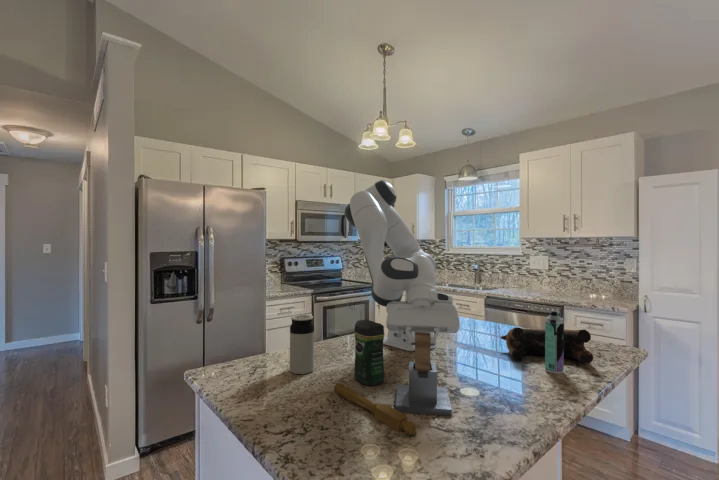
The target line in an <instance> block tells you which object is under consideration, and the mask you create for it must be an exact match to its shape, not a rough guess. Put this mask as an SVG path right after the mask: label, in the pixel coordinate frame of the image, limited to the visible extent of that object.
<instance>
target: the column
mask: <svg viewBox="0 0 719 480" xmlns="http://www.w3.org/2000/svg"><path fill="white" fill-rule="evenodd" d="M431 350H432V349H431V336H430V333H427V332H415V350H414V362H415V369H420V370H430V363H431V355H432V354H431Z"/></svg>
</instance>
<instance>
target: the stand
mask: <svg viewBox="0 0 719 480" xmlns="http://www.w3.org/2000/svg"><path fill="white" fill-rule="evenodd" d="M437 369H438V368H437V365H436V362H430V370H420V369H415V361H408V370H409V371H408V384H397V387H396V397H395V407H394V409H396V410H398V411H400V412H402V413H404V414H405V413H407V414H408V413H409V414H420V415H421V414H422V415H424V414H425V415H437V416H450V417H452V415H453V412H452V411H453V410H452V405H451V401H450V398H449V393H448V389H447V388H448V387H447V386H438V370H437Z"/></svg>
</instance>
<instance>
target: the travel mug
mask: <svg viewBox="0 0 719 480" xmlns="http://www.w3.org/2000/svg"><path fill="white" fill-rule="evenodd" d="M290 319H291V324H290V327H289V372H290V373H292V374H295V375H306V374H307V375H308V374H310V373H312V372H314V370H315V325H314V323H313V320H314V316H313V315H310V314H295V315H293V316H292V315H291V316H290Z"/></svg>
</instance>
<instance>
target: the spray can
mask: <svg viewBox="0 0 719 480" xmlns="http://www.w3.org/2000/svg"><path fill="white" fill-rule="evenodd" d="M544 321H545V323H544V325H545V326H544V327H545V328H544V330H545V355H544V369H545V372H548V373H550V374H556V375H561V374H564V371H565V370H564V368H565V366H564V362H565V361H564V360H565V359H564V358H565V357H564V330H565V329H564V327H565V322H564V318H562V317H561V316H560V315H559V314H558V311H556V310H553V311H551V313H550V314H549V315H548V316H547V317H545V320H544Z"/></svg>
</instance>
